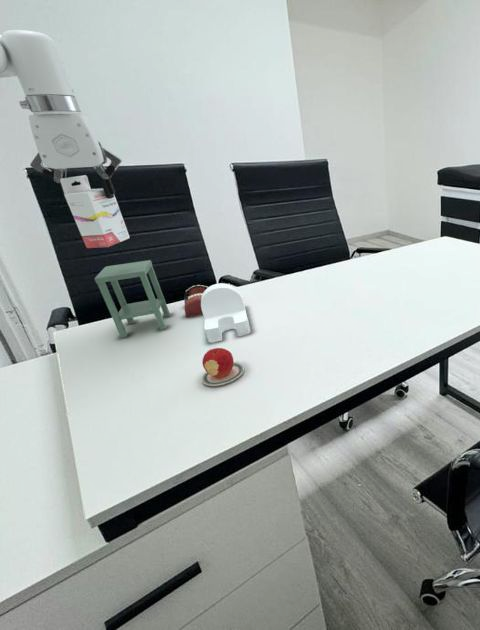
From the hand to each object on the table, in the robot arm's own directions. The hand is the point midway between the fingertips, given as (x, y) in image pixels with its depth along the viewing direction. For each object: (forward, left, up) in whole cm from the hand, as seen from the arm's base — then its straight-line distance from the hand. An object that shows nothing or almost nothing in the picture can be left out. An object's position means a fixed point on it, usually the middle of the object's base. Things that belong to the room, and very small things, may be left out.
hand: (92, 198), depth 85 cm
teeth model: (+13, +9, -34) cm, 37 cm away
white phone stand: (+20, -6, -34) cm, 39 cm away
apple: (+19, -32, -34) cm, 50 cm away
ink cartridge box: (0, 0, -10) cm, 10 cm away
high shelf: (0, +4, -33) cm, 34 cm away
